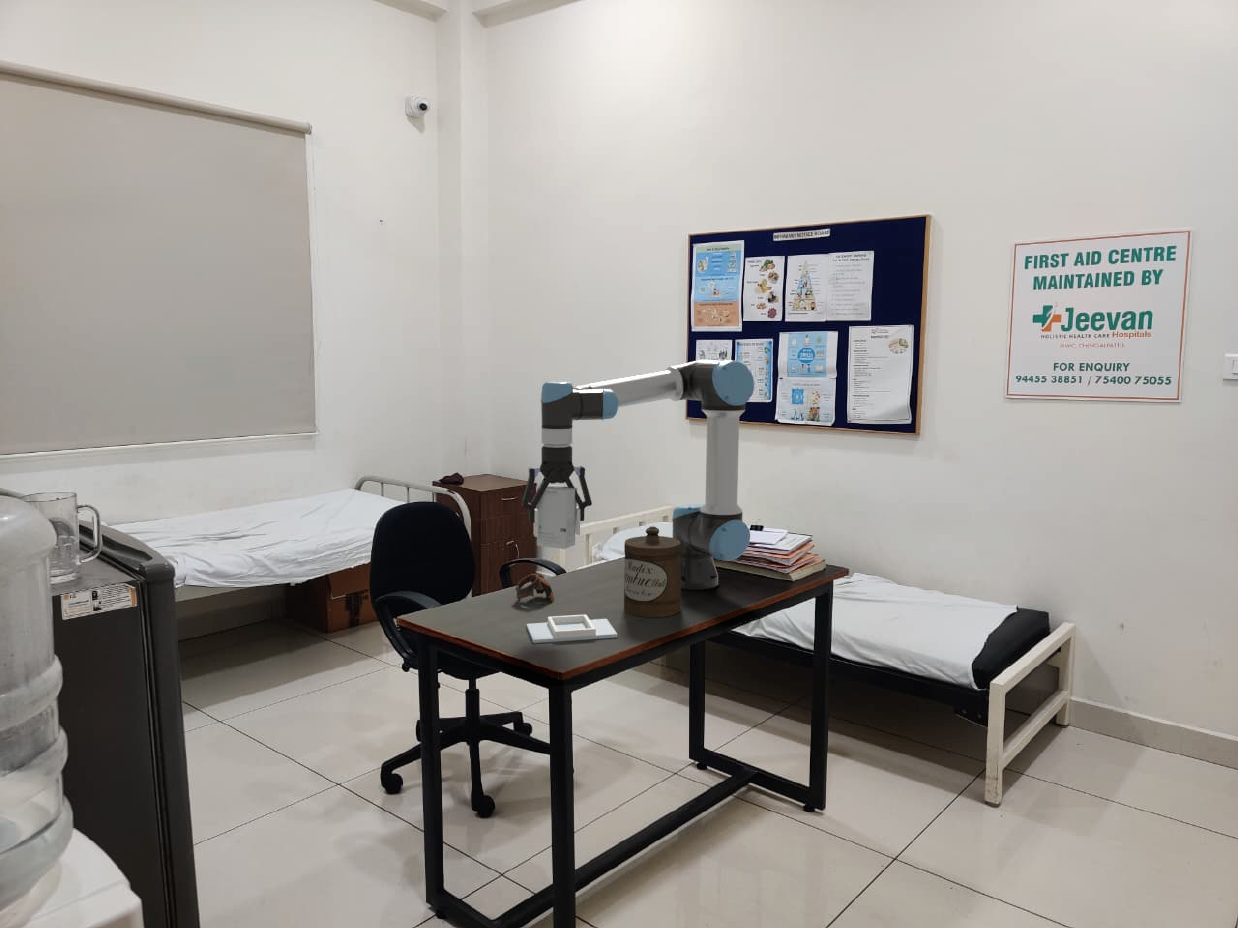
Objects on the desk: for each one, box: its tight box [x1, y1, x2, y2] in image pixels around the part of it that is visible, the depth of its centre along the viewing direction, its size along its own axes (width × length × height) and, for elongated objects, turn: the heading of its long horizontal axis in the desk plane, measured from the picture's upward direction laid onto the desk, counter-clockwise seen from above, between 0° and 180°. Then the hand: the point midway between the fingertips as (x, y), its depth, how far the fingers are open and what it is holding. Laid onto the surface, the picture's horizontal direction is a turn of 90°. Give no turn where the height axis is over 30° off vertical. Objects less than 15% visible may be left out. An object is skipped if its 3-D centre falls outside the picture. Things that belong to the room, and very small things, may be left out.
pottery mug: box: [515, 573, 555, 603], centre depth 240 cm, size 12×10×8 cm
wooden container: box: [623, 525, 682, 618], centre depth 231 cm, size 15×15×22 cm
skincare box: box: [536, 484, 578, 550], centre depth 219 cm, size 8×6×15 cm
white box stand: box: [526, 614, 618, 644], centre depth 213 cm, size 20×12×2 cm, turn 103°
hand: (556, 534), depth 220 cm, fingers closed on skincare box, 10 cm apart
